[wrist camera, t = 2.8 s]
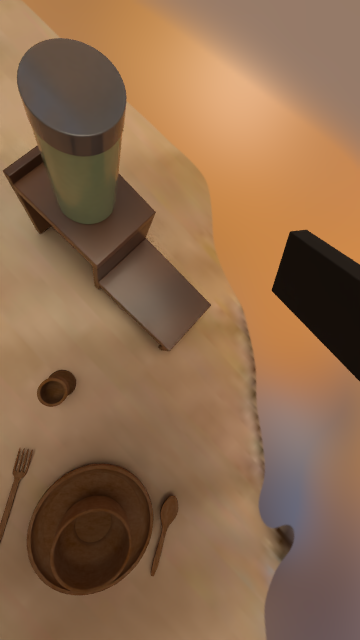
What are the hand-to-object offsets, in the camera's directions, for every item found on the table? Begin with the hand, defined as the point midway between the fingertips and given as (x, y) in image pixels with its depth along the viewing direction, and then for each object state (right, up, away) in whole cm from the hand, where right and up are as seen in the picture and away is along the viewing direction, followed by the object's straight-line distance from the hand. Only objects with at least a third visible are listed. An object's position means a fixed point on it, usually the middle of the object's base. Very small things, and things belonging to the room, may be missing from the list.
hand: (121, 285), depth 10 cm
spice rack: (-4, +4, +23) cm, 24 cm away
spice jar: (-5, +9, +13) cm, 16 cm away
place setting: (-6, -18, +21) cm, 28 cm away
